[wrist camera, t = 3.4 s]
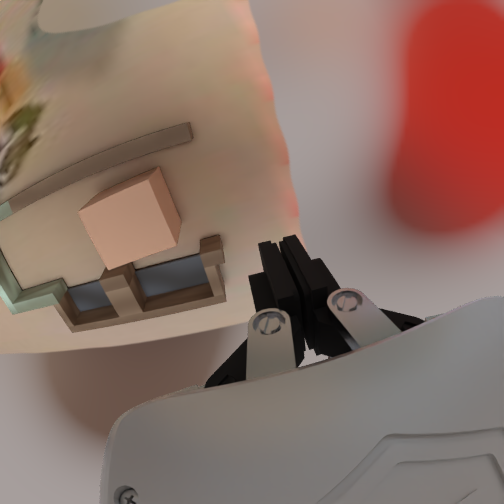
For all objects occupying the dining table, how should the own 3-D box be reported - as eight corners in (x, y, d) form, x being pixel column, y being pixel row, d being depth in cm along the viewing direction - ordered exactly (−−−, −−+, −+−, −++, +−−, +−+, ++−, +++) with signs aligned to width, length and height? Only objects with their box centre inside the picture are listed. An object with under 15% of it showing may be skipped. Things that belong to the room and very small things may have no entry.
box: (-21, 219, 21) (-34, 229, 18) (189, 121, 22) (186, 123, 19) (37, 325, 30) (30, 339, 27) (233, 282, 31) (235, 299, 28)
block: (97, 194, 24) (77, 212, 19) (159, 166, 24) (148, 179, 19) (122, 244, 27) (108, 270, 22) (181, 222, 27) (176, 245, 22)
